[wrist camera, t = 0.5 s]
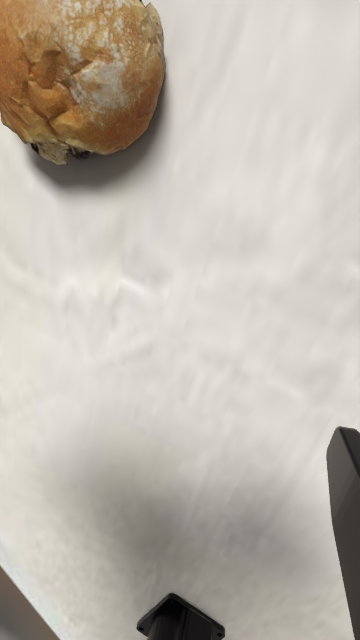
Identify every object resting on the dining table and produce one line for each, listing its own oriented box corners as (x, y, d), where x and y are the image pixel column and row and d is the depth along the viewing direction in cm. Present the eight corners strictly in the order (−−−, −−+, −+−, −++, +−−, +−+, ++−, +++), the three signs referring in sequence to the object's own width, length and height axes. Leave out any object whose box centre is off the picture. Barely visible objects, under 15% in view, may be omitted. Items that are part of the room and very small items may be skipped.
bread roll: (190, 114, 23) (222, 10, 16) (77, 210, 22) (50, 151, 14) (88, -6, 22) (68, -183, 14) (-35, 89, 21) (-131, -46, 13)
